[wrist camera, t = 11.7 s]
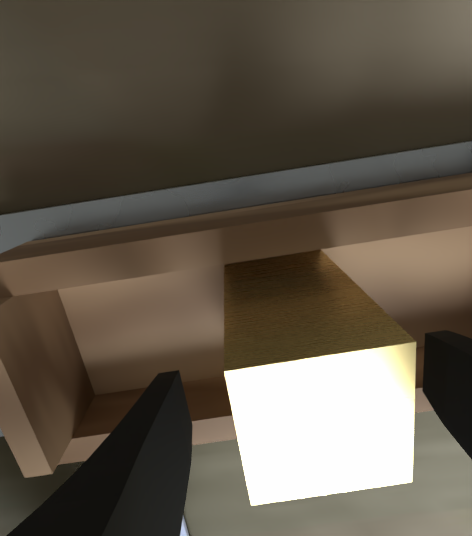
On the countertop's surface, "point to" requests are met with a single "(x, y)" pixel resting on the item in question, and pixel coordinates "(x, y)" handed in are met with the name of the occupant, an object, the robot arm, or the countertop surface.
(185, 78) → the countertop surface
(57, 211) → the track
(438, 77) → the countertop surface
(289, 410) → the block
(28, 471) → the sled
